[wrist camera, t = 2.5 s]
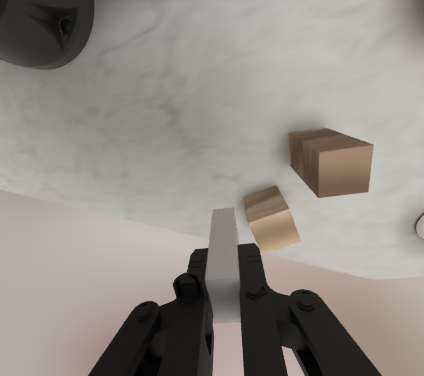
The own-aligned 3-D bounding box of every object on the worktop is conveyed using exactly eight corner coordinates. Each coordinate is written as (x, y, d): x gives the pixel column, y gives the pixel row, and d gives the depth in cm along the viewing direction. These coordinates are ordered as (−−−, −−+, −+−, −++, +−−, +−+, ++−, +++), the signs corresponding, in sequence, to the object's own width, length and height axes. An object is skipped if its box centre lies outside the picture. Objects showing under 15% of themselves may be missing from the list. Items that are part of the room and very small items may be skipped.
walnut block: (289, 133, 29) (319, 152, 20) (325, 127, 29) (373, 144, 19) (290, 165, 31) (318, 197, 22) (324, 161, 30) (368, 192, 21)
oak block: (243, 197, 33) (248, 223, 27) (276, 185, 32) (289, 208, 26) (255, 224, 35) (262, 254, 29) (286, 213, 34) (301, 242, 28)
